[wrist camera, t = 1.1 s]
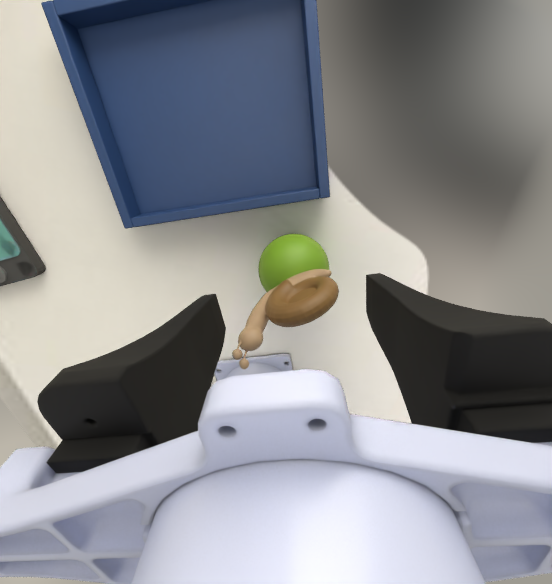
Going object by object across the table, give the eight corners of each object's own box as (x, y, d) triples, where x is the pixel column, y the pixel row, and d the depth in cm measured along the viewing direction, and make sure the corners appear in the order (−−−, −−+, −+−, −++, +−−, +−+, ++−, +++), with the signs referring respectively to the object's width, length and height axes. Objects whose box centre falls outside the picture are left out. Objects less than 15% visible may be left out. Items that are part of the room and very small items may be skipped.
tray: (308, -32, 17) (312, -60, 15) (325, 194, 22) (329, 197, 20) (68, 20, 18) (40, 2, 16) (138, 222, 23) (124, 228, 21)
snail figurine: (239, 250, 24) (205, 323, 13) (307, 215, 23) (331, 263, 12) (269, 301, 26) (261, 400, 15) (333, 271, 25) (375, 356, 14)
